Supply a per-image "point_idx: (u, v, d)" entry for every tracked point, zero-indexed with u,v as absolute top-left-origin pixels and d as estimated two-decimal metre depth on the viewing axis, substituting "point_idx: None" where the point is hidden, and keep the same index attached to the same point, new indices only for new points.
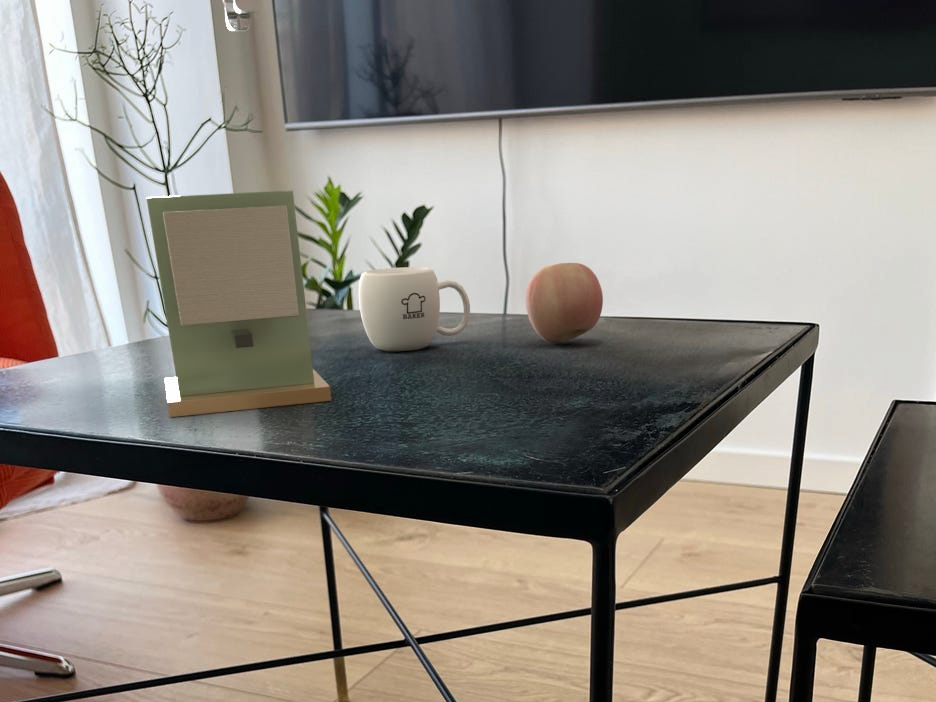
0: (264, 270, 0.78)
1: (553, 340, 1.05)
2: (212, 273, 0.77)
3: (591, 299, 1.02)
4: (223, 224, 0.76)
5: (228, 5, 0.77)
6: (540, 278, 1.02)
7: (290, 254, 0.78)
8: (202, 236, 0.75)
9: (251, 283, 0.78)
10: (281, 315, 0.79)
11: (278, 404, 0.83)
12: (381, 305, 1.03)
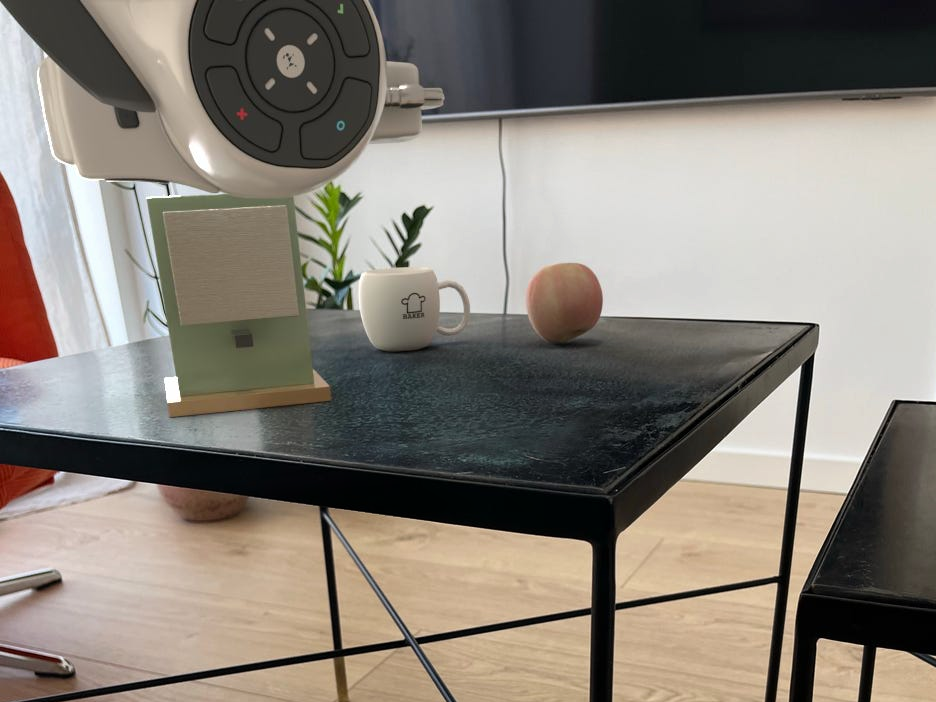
0: (264, 270, 0.78)
1: (553, 340, 1.05)
2: (212, 273, 0.77)
3: (591, 299, 1.02)
4: (223, 224, 0.76)
5: None
6: (540, 279, 1.02)
7: (290, 254, 0.78)
8: (202, 236, 0.75)
9: (251, 283, 0.78)
10: (281, 315, 0.79)
11: (278, 404, 0.83)
12: (381, 305, 1.03)
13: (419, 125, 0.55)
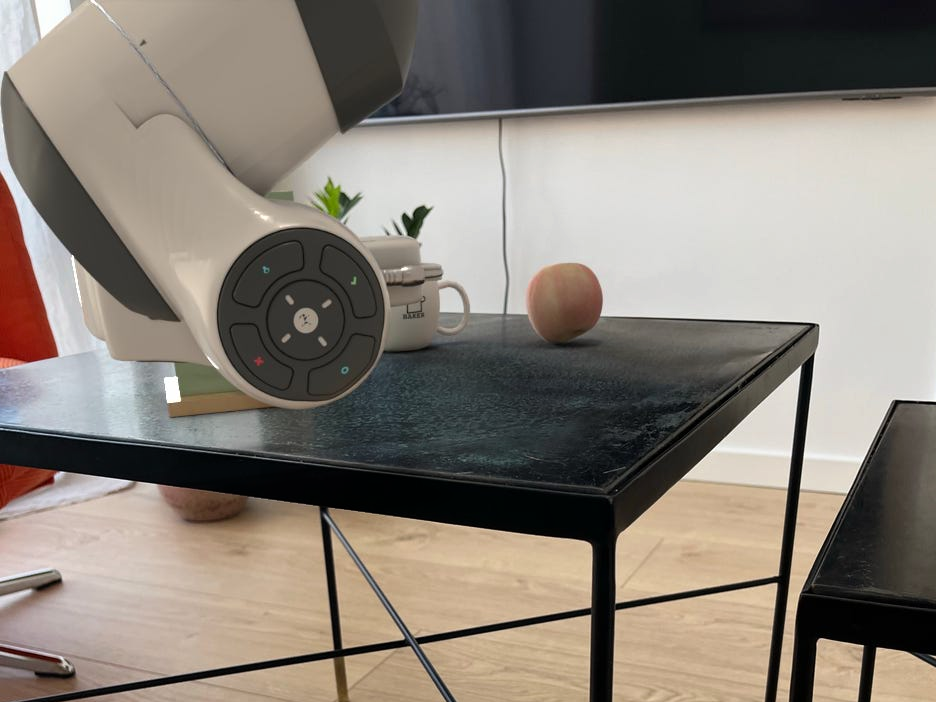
0: None
1: (553, 340, 1.05)
2: None
3: (591, 299, 1.02)
4: None
5: None
6: (540, 279, 1.02)
7: None
8: None
9: None
10: None
11: None
12: None
13: (420, 294, 0.60)
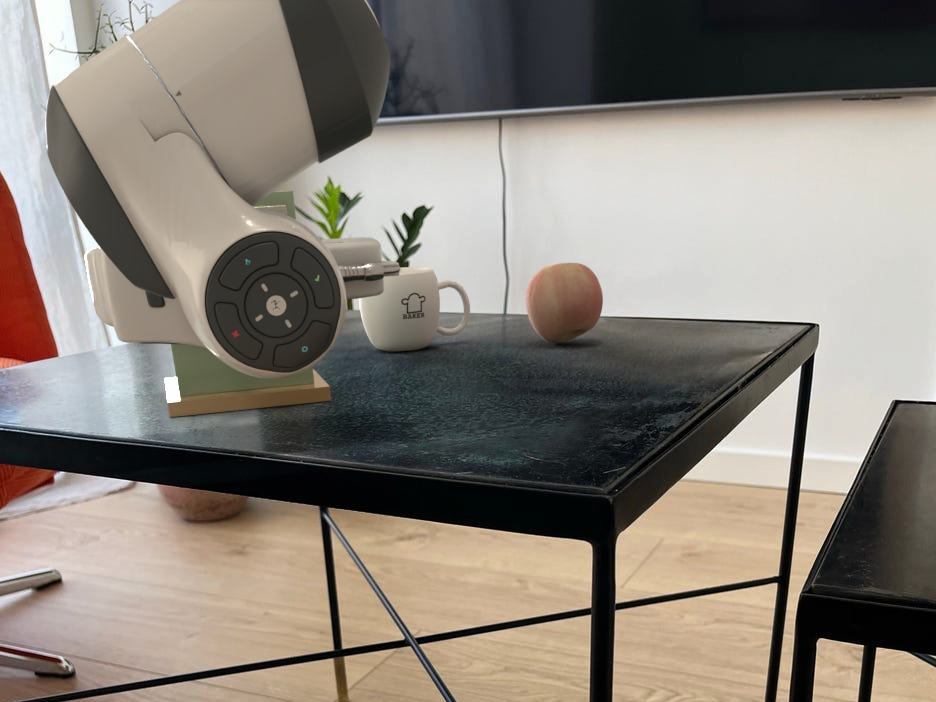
0: None
1: (553, 340, 1.05)
2: None
3: (591, 299, 1.02)
4: None
5: None
6: (540, 279, 1.02)
7: None
8: None
9: None
10: None
11: (278, 404, 0.83)
12: (381, 305, 1.03)
13: (381, 288, 0.70)
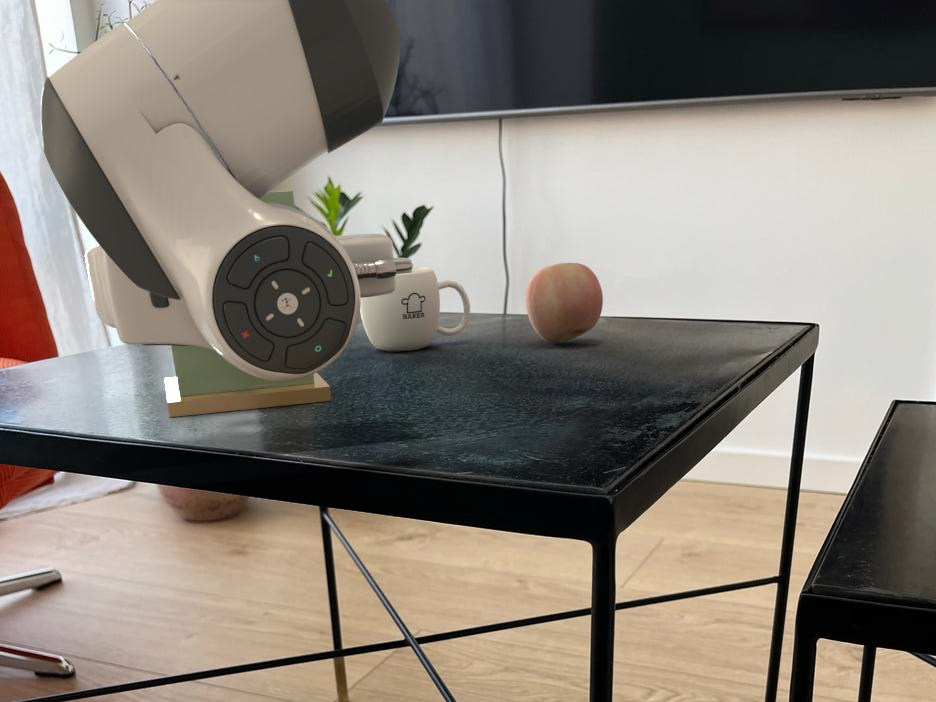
0: None
1: (553, 340, 1.05)
2: None
3: (591, 299, 1.02)
4: None
5: None
6: (540, 279, 1.02)
7: None
8: None
9: None
10: None
11: (278, 404, 0.83)
12: (381, 305, 1.03)
13: (393, 286, 0.67)
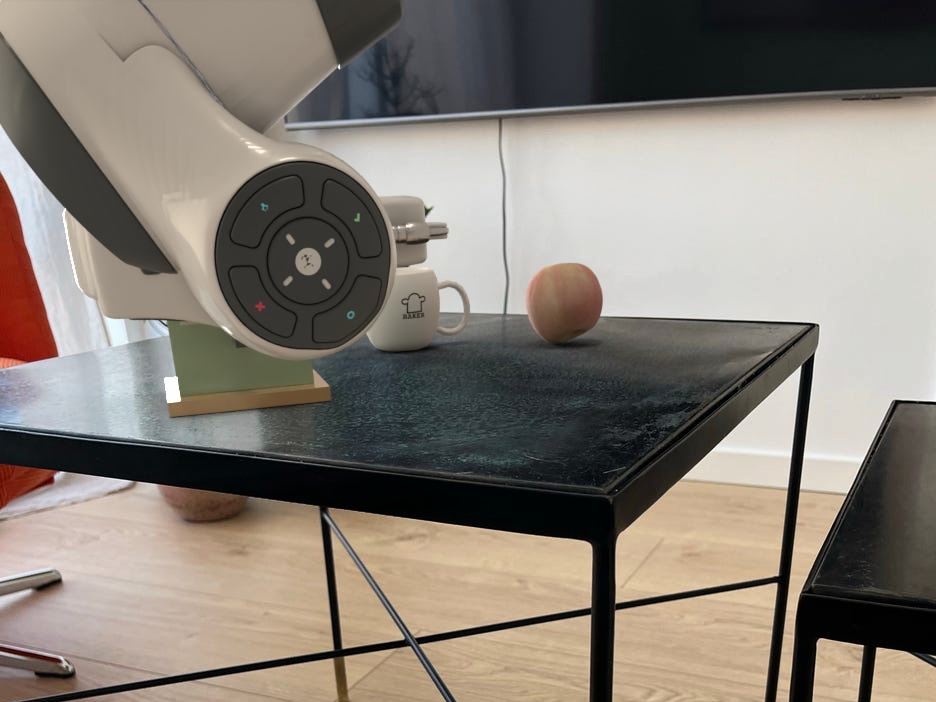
0: None
1: (553, 340, 1.05)
2: None
3: (591, 299, 1.02)
4: None
5: None
6: (540, 279, 1.02)
7: None
8: None
9: None
10: None
11: (278, 404, 0.83)
12: None
13: (424, 254, 0.57)
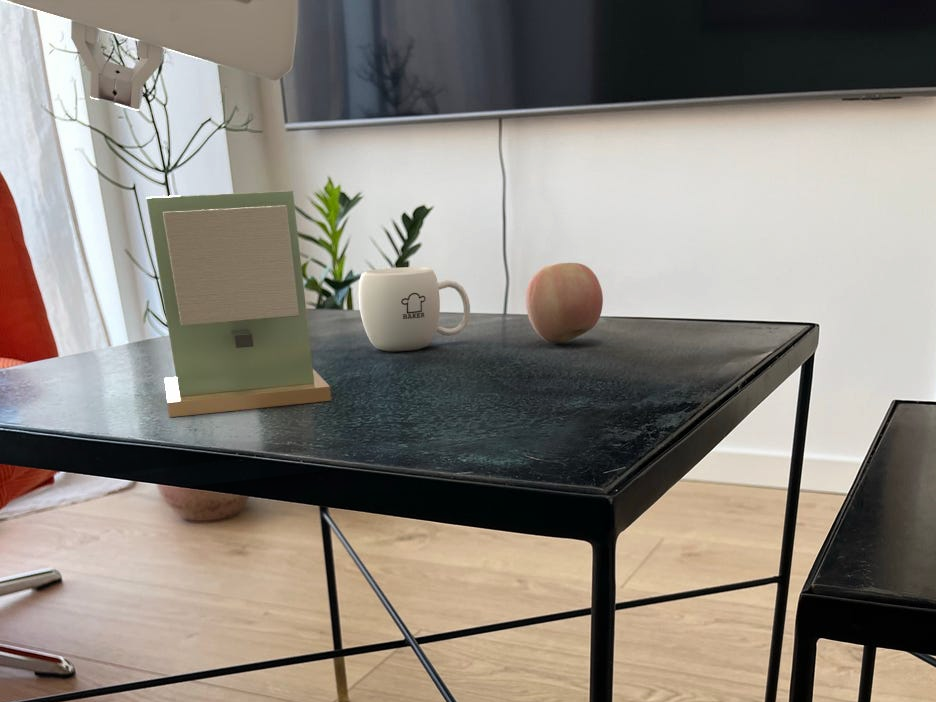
0: (264, 270, 0.78)
1: (553, 340, 1.05)
2: (212, 273, 0.77)
3: (591, 299, 1.02)
4: (223, 224, 0.76)
5: None
6: (540, 279, 1.02)
7: (290, 254, 0.78)
8: (202, 236, 0.75)
9: (251, 283, 0.78)
10: (281, 315, 0.79)
11: (278, 404, 0.83)
12: (381, 305, 1.03)
13: None
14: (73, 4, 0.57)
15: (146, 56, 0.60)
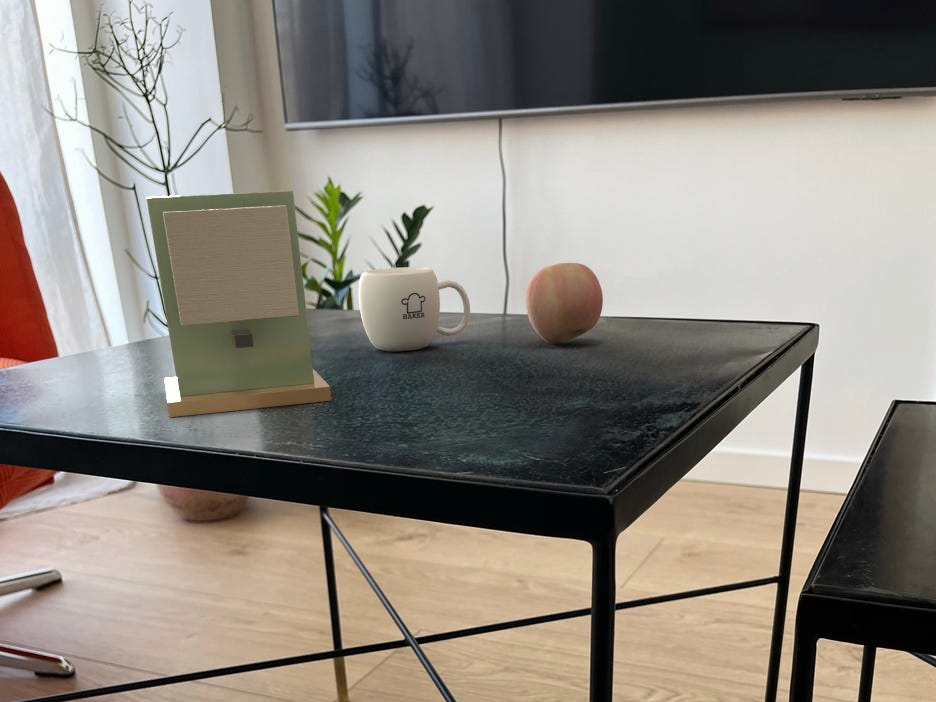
0: (264, 270, 0.78)
1: (553, 340, 1.05)
2: (212, 273, 0.77)
3: (591, 299, 1.02)
4: (223, 224, 0.76)
5: None
6: (540, 279, 1.02)
7: (290, 254, 0.78)
8: (202, 236, 0.75)
9: (251, 283, 0.78)
10: (281, 315, 0.79)
11: (278, 404, 0.83)
12: (381, 305, 1.03)
13: None
14: None
15: None
